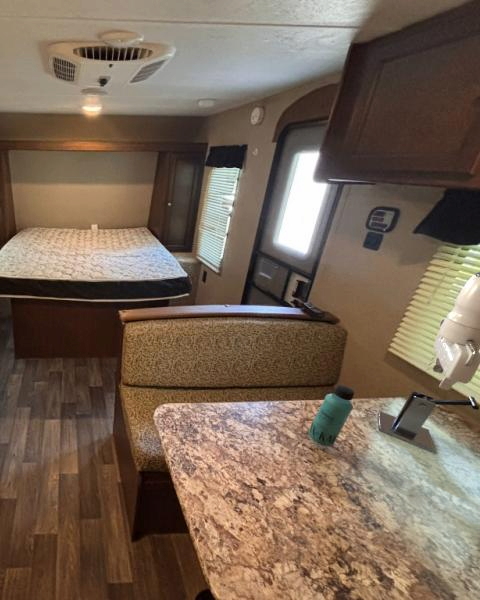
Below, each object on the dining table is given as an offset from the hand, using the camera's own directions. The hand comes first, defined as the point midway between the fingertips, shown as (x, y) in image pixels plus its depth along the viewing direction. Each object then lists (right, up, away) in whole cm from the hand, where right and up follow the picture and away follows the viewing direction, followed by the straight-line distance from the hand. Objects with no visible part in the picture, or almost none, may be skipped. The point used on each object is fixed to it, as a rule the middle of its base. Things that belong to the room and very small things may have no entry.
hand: (439, 379), depth 83 cm
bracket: (+7, -20, +16) cm, 27 cm away
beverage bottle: (-24, -22, +10) cm, 34 cm away
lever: (+11, -10, +8) cm, 16 cm away
